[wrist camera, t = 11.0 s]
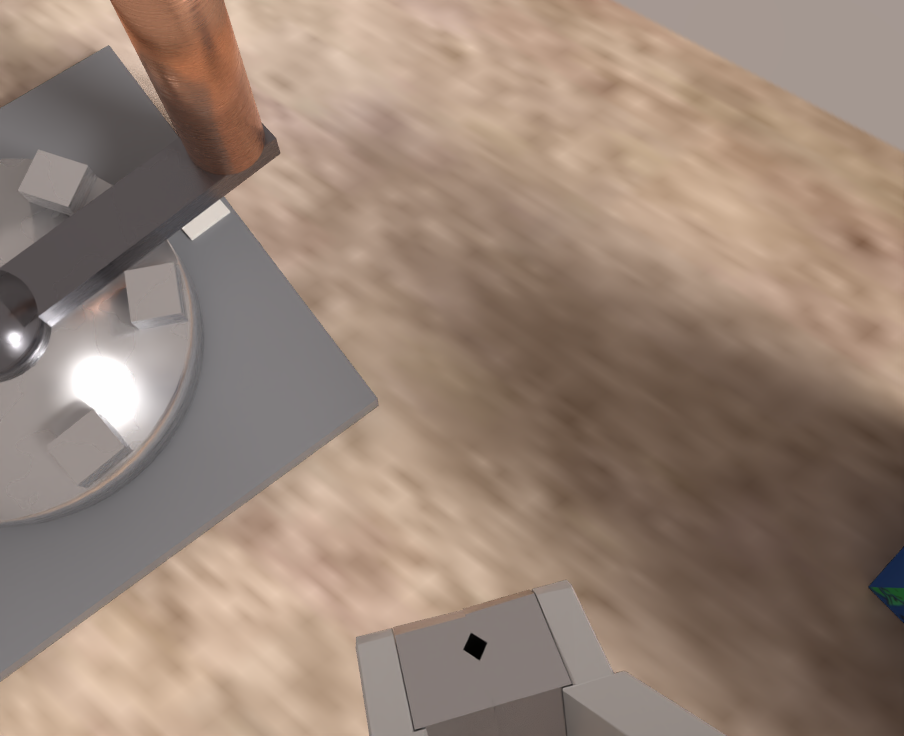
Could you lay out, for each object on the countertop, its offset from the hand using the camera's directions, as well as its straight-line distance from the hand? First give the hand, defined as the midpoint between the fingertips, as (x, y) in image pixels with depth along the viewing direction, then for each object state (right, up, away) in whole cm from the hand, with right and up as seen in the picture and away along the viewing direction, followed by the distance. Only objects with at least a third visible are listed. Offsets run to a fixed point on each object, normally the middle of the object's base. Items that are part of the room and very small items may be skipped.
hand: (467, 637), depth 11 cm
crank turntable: (-15, +6, +22) cm, 28 cm away
